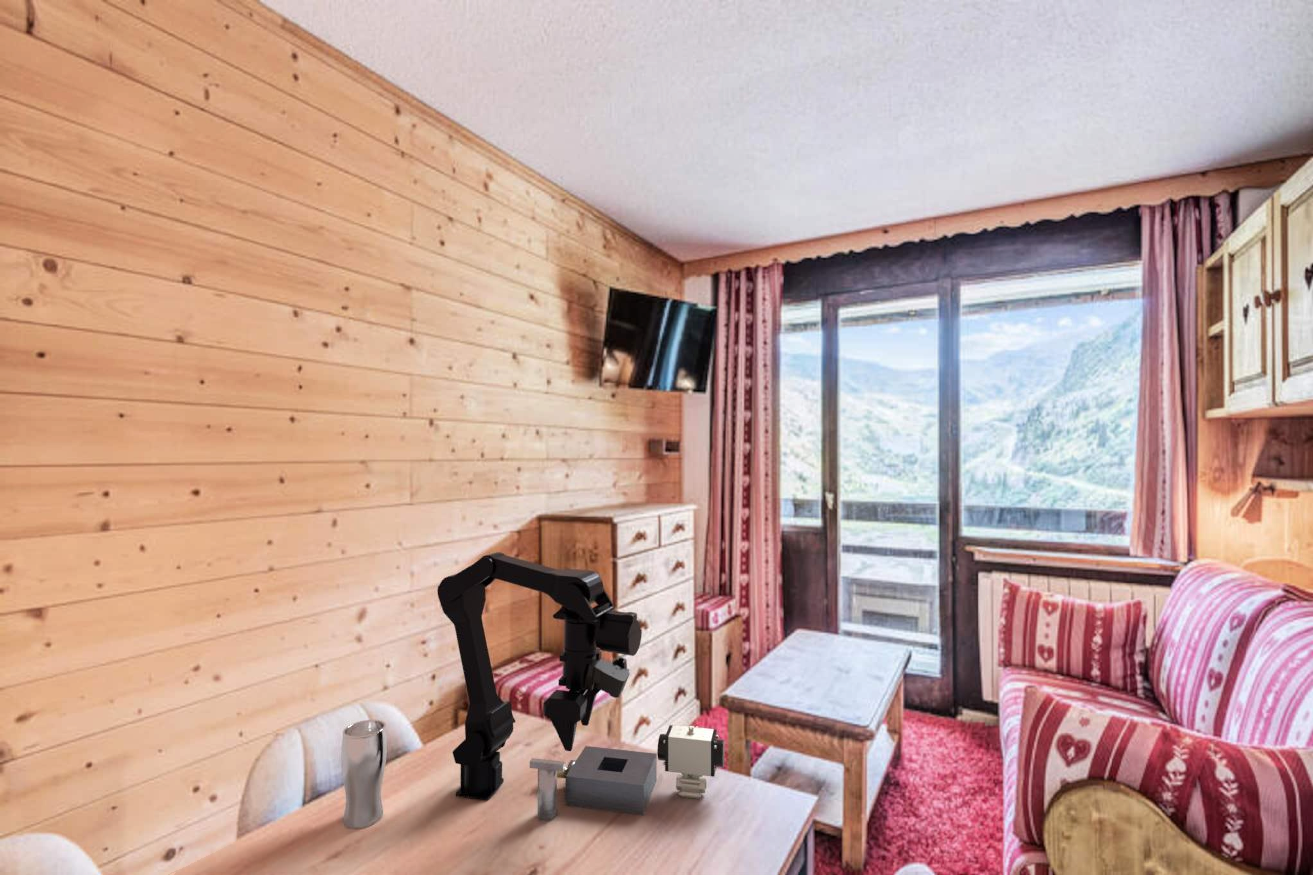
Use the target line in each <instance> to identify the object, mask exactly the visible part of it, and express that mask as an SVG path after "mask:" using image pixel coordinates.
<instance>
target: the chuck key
mask: <svg viewBox="0 0 1313 875" xmlns="http://www.w3.org/2000/svg"><path fill="white" fill-rule="evenodd" d="M565 767H566V761H562V760H553V759H545V758H537V757H536V758H535V757H534V758H533V757H531V758H530V760H529V769H537V819H538V821H540V822H551V821H552V820H555V819H556V818H557V814H558V812H557V811H558V810H557V809H558V804H557V803H558V802H557V801H558V793H557V792H558V778H557V771H562V772H563V771H564V770H565Z"/></svg>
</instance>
